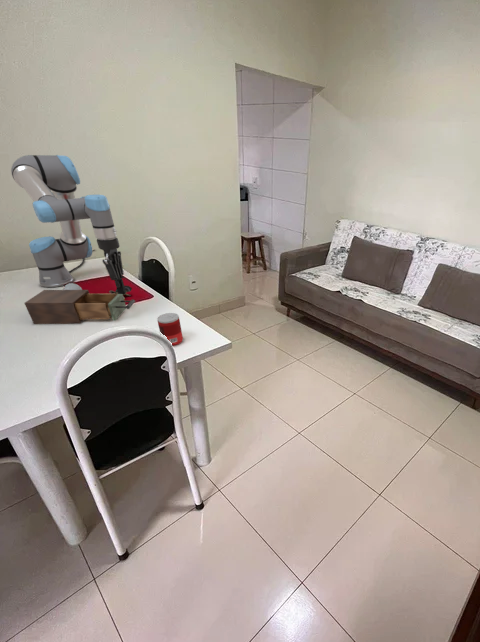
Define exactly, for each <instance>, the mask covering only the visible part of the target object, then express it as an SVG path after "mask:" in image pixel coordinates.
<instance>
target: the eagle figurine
mask: <svg viewBox="0 0 480 642" xmlns="http://www.w3.org/2000/svg"><path fill="white" fill-rule="evenodd" d="M124 287H125V291H126V293H125V294H123V296H129V297H130V296H131V294H128V293H130V292H132V289H133V287H131V286H129V285H124ZM108 294H116V295H117V294H118V291H117V288H116V289H115V291H114V290H112V289H111V290H109V291H108ZM124 301H126V299H125V297H124Z"/></svg>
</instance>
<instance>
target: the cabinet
mask: <svg viewBox="0 0 480 642" xmlns="http://www.w3.org/2000/svg"><path fill="white" fill-rule="evenodd" d="M85 294H91V293H90V290H89V289H82V290H63V289H43V290H42V291H40V292H39V293H37V294H36V295H34V296H32V297H31V298H29V299H28V300H26V301H25V302H24V306H25V308H26V310H27V312H28V314H29V317H30V319H31V321H32V323H33V325H62V324H63V325H75V324H76V325H78V324H79V325H80V324H82V323H83V322H84V321H85V320H86V319H80V318H79V315H78V313H77V310H76V307H75V305H74V304H75V303H76V302H77V301H78V300H80V299H81V298H82V297H83V296H84V295H85Z"/></svg>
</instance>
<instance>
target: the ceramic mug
mask: <svg viewBox="0 0 480 642" xmlns="http://www.w3.org/2000/svg"><path fill="white" fill-rule="evenodd" d="M62 290H83V288H82V287H81V286H80V285H78V284H76V283H74V282H72V283H69V284H67V285H64V286H63V289H62Z"/></svg>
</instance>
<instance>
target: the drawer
mask: <svg viewBox="0 0 480 642" xmlns="http://www.w3.org/2000/svg"><path fill="white" fill-rule="evenodd" d="M124 298H125V296H124V295H123V294H117V295H116V294H111V293H90V294H85V295H84V296H83V297H82V298H81V299H80V300H78V301H77V302H76V303H75V304H74V305H75V307H76V310H77V313H78V315H79V318H80V319H85V320H112V321H113V322H114V321H117V320H118V319H119V317H120V316H121V315H122V314H123V313H124V312H125V310H126V309H127V310H130V309H131V308H132V307H133V305H134V304H135V303H136V300H135V299H131V300H124ZM126 303H127V305H126Z"/></svg>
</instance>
